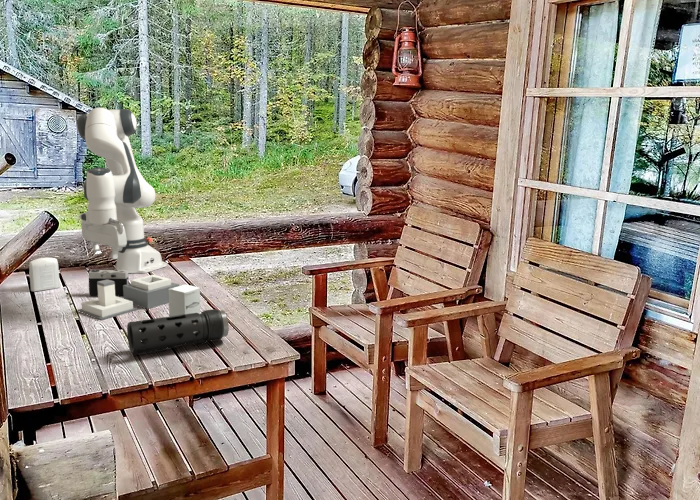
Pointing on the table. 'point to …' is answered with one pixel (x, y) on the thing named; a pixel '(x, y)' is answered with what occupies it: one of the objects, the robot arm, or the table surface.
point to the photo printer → (44, 274)
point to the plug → (106, 292)
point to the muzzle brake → (176, 331)
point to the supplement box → (184, 300)
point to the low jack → (107, 308)
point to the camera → (114, 275)
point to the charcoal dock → (148, 291)
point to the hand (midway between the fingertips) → (105, 256)
